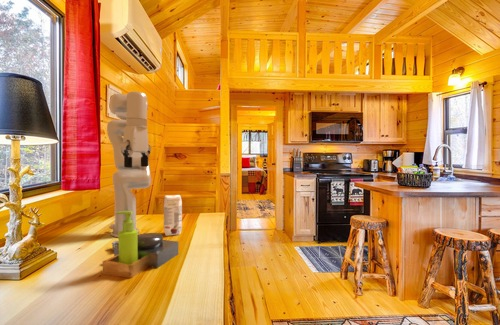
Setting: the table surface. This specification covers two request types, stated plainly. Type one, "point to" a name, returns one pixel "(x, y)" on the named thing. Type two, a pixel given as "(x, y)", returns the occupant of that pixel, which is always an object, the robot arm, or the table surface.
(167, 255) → the grey block with dome
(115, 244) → the egg carton
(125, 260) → the soap dispenser
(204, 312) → the table surface
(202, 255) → the table surface
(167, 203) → the juice carton
